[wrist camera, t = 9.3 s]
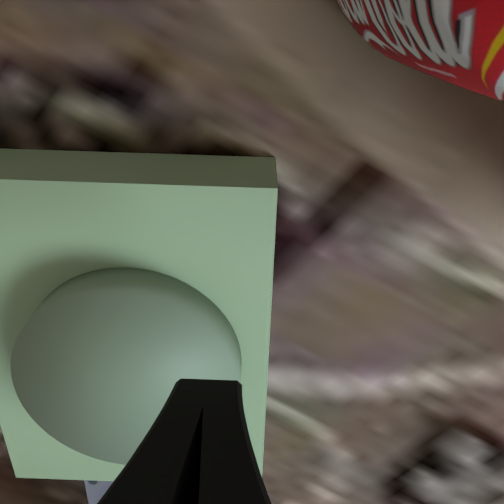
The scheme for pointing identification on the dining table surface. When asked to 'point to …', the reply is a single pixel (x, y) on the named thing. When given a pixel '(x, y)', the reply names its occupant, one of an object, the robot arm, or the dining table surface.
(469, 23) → the soda can
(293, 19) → the dining table surface
